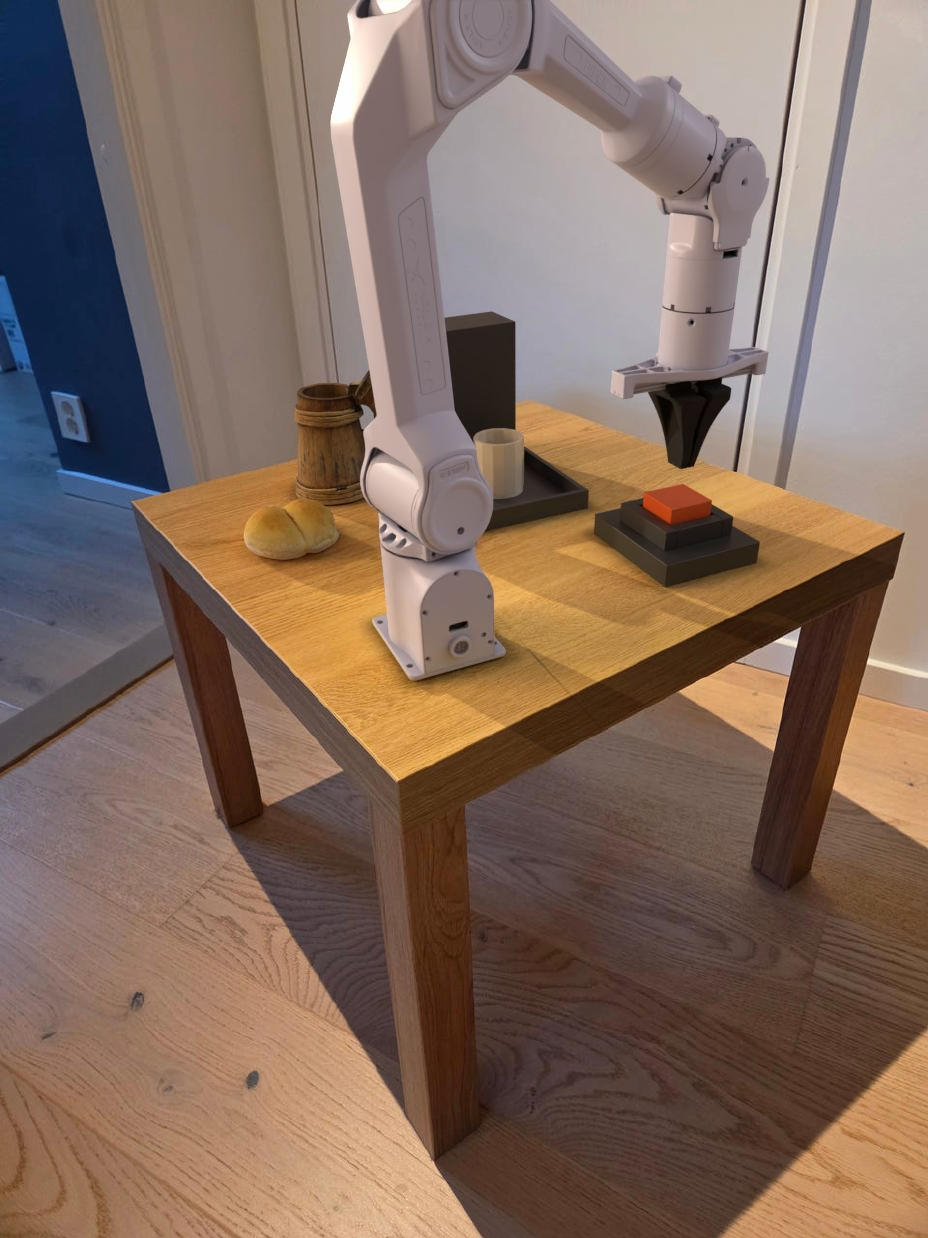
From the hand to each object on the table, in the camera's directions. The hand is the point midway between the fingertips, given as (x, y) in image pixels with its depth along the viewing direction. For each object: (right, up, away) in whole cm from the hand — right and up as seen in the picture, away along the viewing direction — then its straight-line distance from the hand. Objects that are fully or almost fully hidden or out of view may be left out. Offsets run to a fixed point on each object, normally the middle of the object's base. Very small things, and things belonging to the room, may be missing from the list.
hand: (680, 464), depth 76 cm
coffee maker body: (-20, +5, +25) cm, 32 cm away
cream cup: (-16, 0, +16) cm, 22 cm away
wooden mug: (-31, 0, +19) cm, 37 cm away
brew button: (0, -4, +3) cm, 5 cm away
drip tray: (-16, 0, +16) cm, 23 cm away
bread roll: (-36, -6, +8) cm, 38 cm away
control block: (0, -7, +4) cm, 8 cm away
